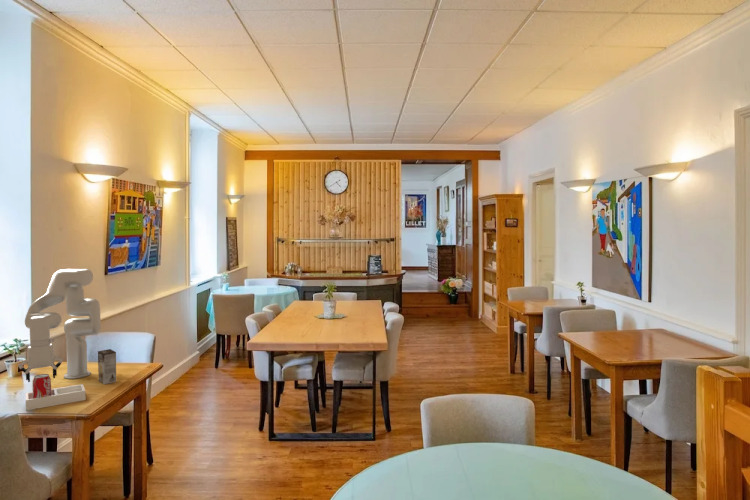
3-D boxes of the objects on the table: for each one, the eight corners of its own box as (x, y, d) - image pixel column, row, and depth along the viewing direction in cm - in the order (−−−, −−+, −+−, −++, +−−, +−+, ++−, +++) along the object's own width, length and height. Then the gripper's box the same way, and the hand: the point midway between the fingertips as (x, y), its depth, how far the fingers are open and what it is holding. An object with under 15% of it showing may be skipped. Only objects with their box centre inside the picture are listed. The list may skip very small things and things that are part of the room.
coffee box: (97, 380, 262) (97, 351, 262) (110, 378, 267) (110, 348, 266) (104, 384, 256) (103, 354, 256) (117, 381, 261) (116, 351, 260)
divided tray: (25, 402, 230) (25, 393, 229) (83, 393, 243) (82, 384, 243) (26, 410, 220) (25, 400, 220) (85, 399, 233) (85, 390, 233)
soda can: (41, 404, 224) (41, 378, 224) (29, 403, 226) (28, 377, 225) (55, 399, 231) (54, 374, 231) (42, 398, 233) (41, 373, 232)
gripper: (61, 338, 235) (63, 373, 236) (17, 343, 225) (18, 380, 226) (62, 341, 229) (64, 378, 230) (16, 347, 219) (18, 385, 220)
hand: (41, 379), depth 228 cm, fingers open, 9 cm apart
